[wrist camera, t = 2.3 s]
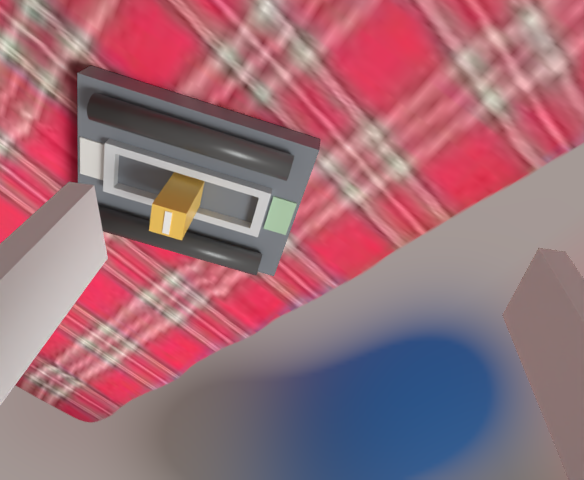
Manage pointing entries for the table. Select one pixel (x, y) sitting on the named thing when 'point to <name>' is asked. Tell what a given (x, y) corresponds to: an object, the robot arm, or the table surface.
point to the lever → (176, 206)
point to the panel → (191, 169)
